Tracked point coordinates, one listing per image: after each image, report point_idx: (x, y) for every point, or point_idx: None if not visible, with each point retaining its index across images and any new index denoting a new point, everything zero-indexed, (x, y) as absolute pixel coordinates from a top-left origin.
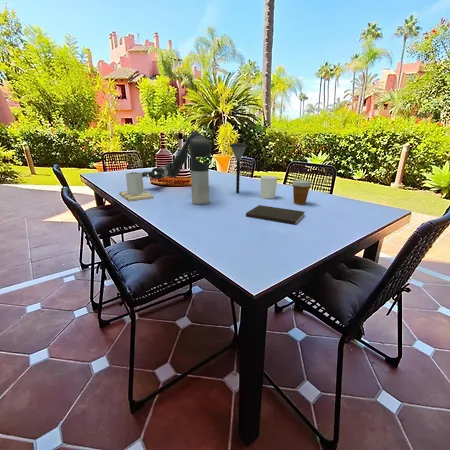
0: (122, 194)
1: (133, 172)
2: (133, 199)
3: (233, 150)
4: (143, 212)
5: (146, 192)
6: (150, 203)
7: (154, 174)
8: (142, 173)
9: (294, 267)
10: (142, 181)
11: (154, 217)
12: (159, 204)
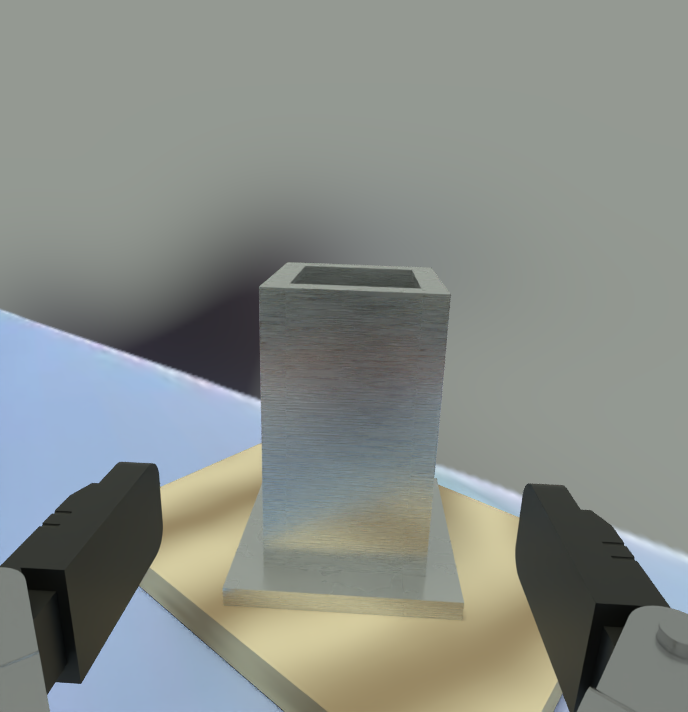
0: (475, 503)
1: (413, 288)
2: None
3: None
4: (109, 365)
5: (226, 591)
6: (97, 440)
7: (52, 537)
8: (624, 588)
9: None
10: (263, 421)
11: (44, 347)
12: (17, 436)
